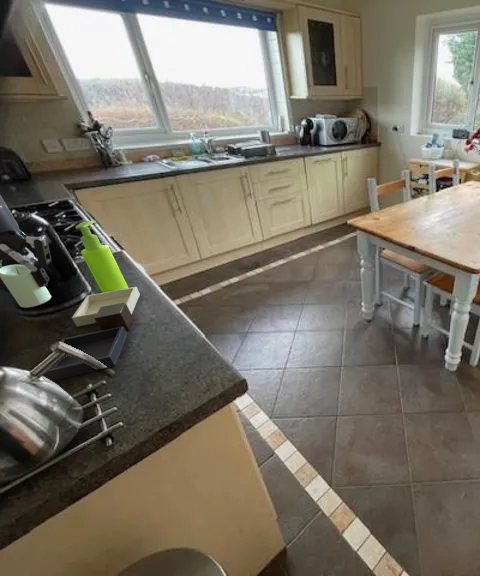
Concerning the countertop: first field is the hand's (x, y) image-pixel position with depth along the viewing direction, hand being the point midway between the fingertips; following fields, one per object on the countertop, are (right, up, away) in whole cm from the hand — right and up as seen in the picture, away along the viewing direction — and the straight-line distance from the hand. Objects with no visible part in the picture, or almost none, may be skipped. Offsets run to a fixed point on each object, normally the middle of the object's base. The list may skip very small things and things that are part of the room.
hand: (27, 287), depth 68 cm
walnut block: (+10, -10, +11) cm, 18 cm away
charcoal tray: (+12, -15, +2) cm, 19 cm away
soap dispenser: (-2, -1, +26) cm, 26 cm away
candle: (0, -3, +2) cm, 4 cm away
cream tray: (+3, -6, +17) cm, 19 cm away
